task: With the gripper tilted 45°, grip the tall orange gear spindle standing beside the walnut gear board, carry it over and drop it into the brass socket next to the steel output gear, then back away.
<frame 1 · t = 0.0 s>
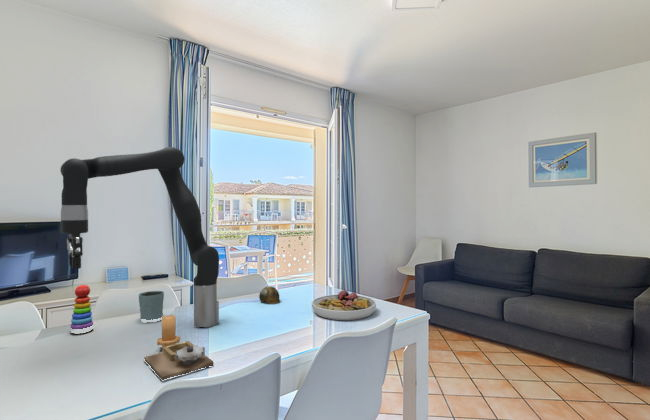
hand: (74, 267, 119), 29 cm above the table, tool pointing down, fingers open, 8 cm apart
orange gear spindle: (168, 348, 123), on the table
bowl: (343, 313, 167), on the table
grey cup: (151, 320, 155), on the table
stacking toy: (81, 332, 141), on the table
gear board: (178, 364, 111), on the table
seashell: (269, 302, 185), on the table
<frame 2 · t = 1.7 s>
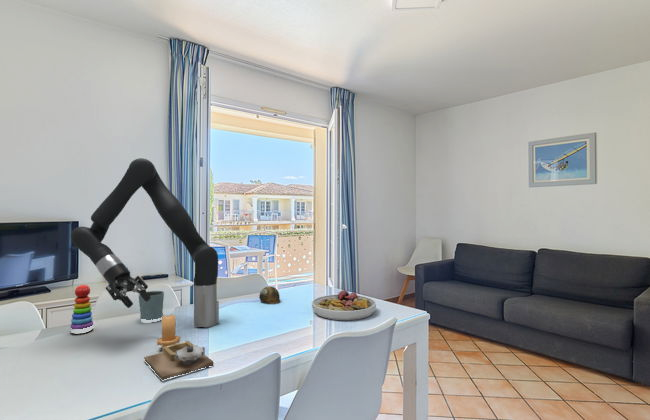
hand: (140, 302, 126), 15 cm above the table, tool tilted 45°, fingers open, 8 cm apart
nothing on the table moved.
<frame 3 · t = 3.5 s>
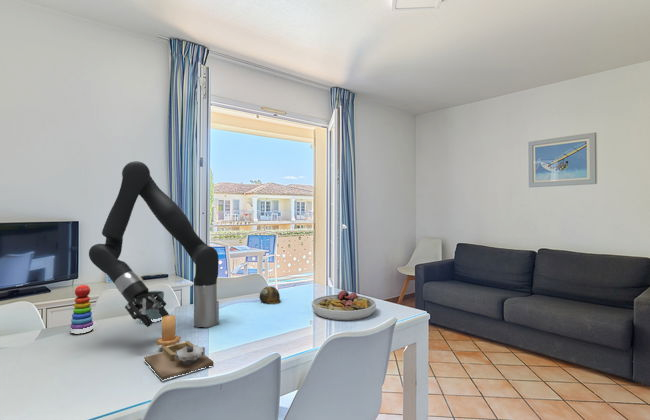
hand: (159, 321, 124), 9 cm above the table, tool tilted 45°, fingers open, 8 cm apart
nothing on the table moved.
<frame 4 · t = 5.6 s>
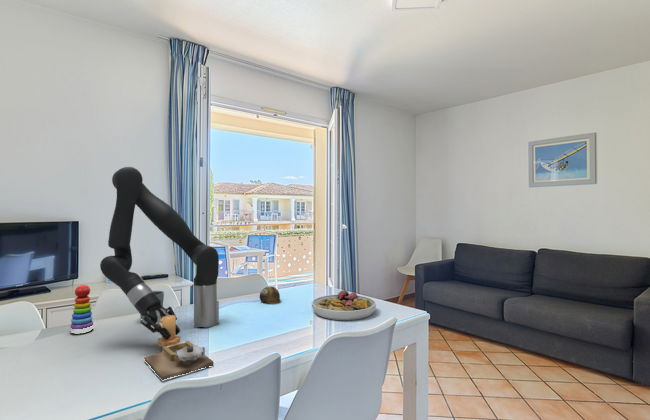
hand: (173, 335, 123), 5 cm above the table, tool tilted 45°, fingers closed on orange gear spindle, 4 cm apart
orange gear spindle: (168, 348, 123), on the table, touching gripper
everything else where it was.
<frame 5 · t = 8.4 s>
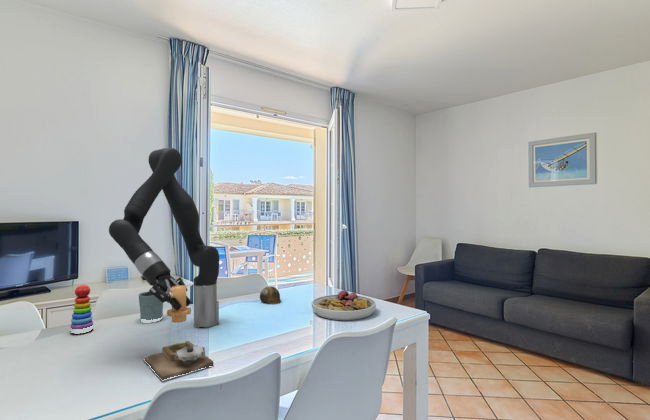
hand: (184, 306, 115), 17 cm above the table, tool tilted 45°, fingers closed on orange gear spindle, 4 cm apart
orange gear spindle: (179, 320, 115), point 12 cm above the table, touching gripper
everything else where it was.
when the fingers open (7 cm above the table, at t = 11.1 s): orange gear spindle stays where it is, resting on gear board.
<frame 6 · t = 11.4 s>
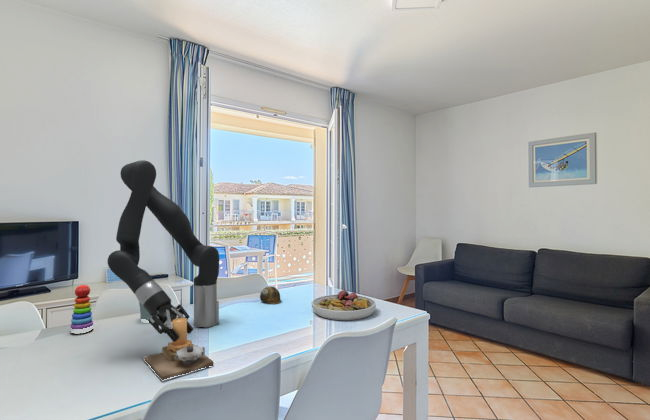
hand: (184, 335, 115), 8 cm above the table, tool tilted 45°, fingers open, 6 cm apart
orange gear spindle: (179, 353, 115), point 2 cm above the table, touching gear board
everything else where it was.
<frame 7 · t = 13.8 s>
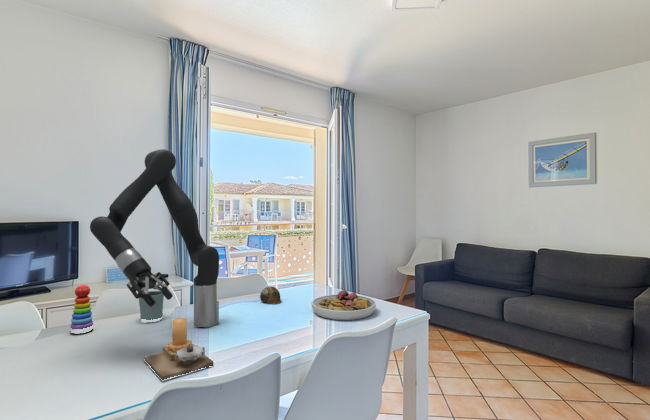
hand: (162, 301, 117), 18 cm above the table, tool tilted 45°, fingers open, 8 cm apart
nothing on the table moved.
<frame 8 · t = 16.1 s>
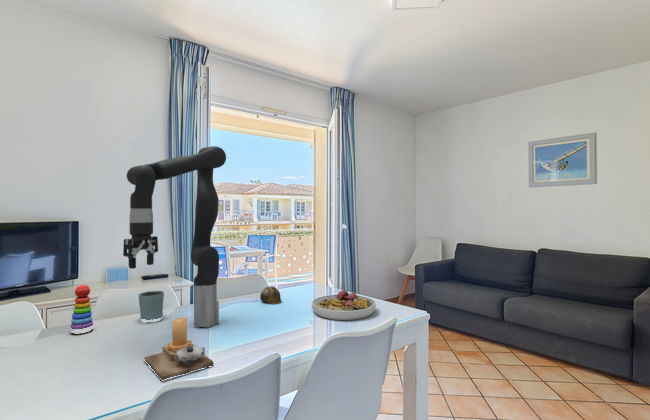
hand: (141, 266, 127), 28 cm above the table, tool pointing down, fingers open, 8 cm apart
nothing on the table moved.
at the end: orange gear spindle 0.1 cm from the target spot on the gear board, point 1.5 cm above the gear board's base; orange gear spindle tilted 0°; the gripper is holding nothing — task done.
